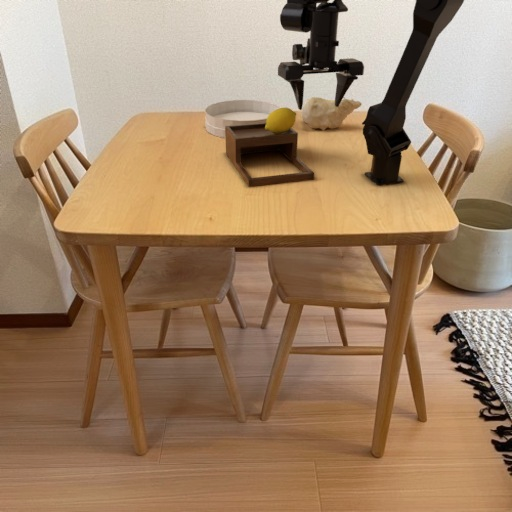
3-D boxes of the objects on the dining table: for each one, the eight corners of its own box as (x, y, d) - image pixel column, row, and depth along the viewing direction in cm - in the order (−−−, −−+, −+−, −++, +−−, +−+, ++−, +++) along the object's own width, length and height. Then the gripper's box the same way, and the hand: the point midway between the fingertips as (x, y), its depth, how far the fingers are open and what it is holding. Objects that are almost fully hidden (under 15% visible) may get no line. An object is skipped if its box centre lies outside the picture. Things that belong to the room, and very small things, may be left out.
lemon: (268, 134, 116) (298, 119, 115) (271, 143, 112) (302, 127, 111) (258, 114, 113) (289, 99, 112) (261, 122, 109) (293, 106, 107)
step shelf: (313, 179, 106) (316, 148, 102) (248, 186, 102) (248, 155, 98) (282, 148, 123) (283, 121, 119) (225, 153, 119) (225, 125, 116)
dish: (213, 142, 126) (212, 123, 124) (199, 119, 144) (198, 102, 142) (292, 135, 131) (293, 117, 129) (269, 114, 150) (269, 97, 147)
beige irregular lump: (289, 134, 138) (319, 111, 125) (288, 111, 140) (318, 85, 127) (332, 144, 145) (365, 123, 132) (331, 122, 147) (363, 99, 134)
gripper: (346, 28, 112) (339, 97, 120) (270, 31, 107) (269, 102, 116) (369, 34, 103) (360, 108, 111) (287, 38, 98) (285, 114, 107)
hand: (318, 107), depth 111 cm, fingers open, 9 cm apart
